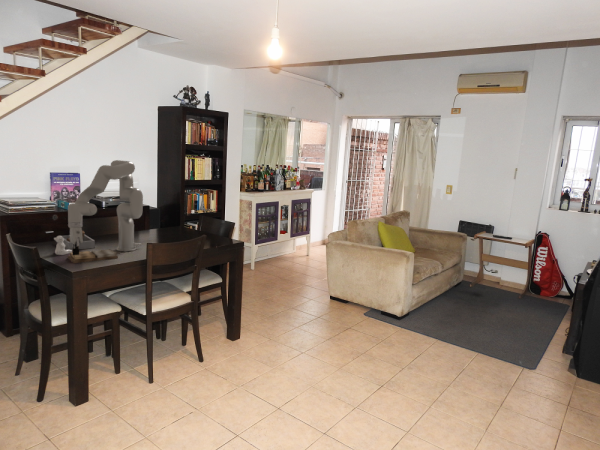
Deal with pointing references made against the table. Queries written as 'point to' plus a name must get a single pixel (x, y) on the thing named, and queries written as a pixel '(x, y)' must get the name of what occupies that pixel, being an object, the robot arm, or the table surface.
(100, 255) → the floor board
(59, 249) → the sitting furry creature
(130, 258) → the table surface
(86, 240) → the block crate
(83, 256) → the oak plank
